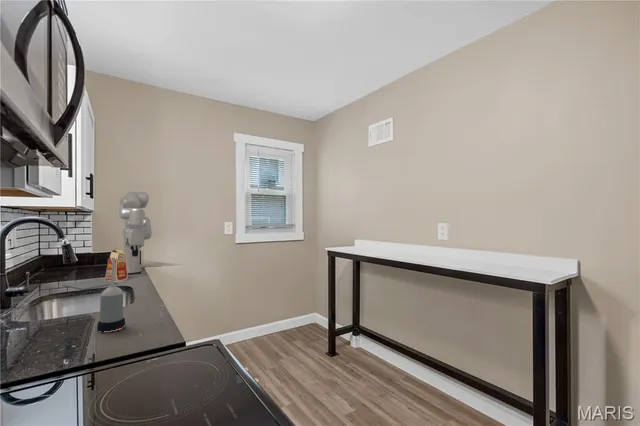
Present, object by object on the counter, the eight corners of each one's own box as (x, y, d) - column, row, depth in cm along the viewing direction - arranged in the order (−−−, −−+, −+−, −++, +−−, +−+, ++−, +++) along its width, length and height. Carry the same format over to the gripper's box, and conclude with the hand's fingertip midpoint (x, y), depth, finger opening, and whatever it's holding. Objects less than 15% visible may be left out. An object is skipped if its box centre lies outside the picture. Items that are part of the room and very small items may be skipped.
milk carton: (117, 282, 184) (117, 248, 184) (103, 281, 186) (104, 247, 186) (129, 279, 193) (130, 246, 193) (116, 278, 195) (117, 246, 195)
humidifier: (119, 332, 106) (121, 258, 107) (92, 333, 105) (94, 259, 105) (128, 324, 114) (130, 255, 115) (103, 325, 113) (105, 256, 113)
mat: (97, 280, 189) (97, 279, 189) (117, 283, 180) (117, 282, 180) (62, 285, 173) (62, 284, 173) (82, 289, 164) (82, 288, 164)
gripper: (143, 227, 208) (142, 254, 208) (120, 227, 195) (119, 257, 194) (150, 227, 205) (149, 255, 204) (127, 227, 191) (127, 257, 191)
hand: (135, 256), depth 199 cm, fingers closed
